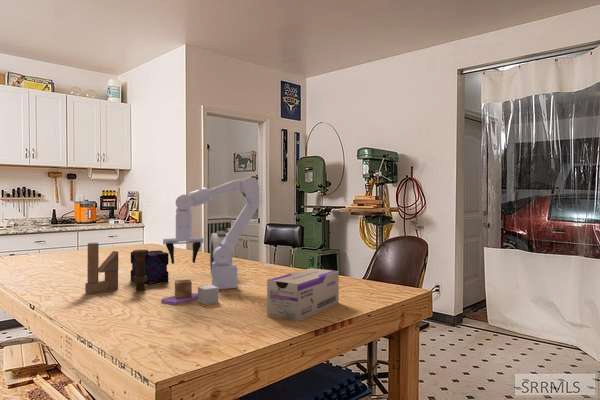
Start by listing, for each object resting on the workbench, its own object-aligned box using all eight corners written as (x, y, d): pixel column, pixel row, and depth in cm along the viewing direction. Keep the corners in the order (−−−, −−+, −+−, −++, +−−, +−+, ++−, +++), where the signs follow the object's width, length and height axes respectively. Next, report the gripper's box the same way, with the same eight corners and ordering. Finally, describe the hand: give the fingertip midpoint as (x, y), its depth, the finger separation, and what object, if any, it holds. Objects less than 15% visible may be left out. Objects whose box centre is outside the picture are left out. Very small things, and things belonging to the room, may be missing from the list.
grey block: (211, 299, 141) (211, 285, 141) (218, 302, 137) (218, 287, 137) (197, 301, 138) (197, 286, 138) (204, 305, 134) (204, 289, 134)
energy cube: (168, 282, 169) (168, 253, 169) (137, 286, 162) (137, 255, 162) (160, 278, 179) (160, 250, 179) (130, 281, 172) (130, 252, 172)
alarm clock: (209, 271, 194) (209, 229, 194) (225, 271, 196) (226, 229, 196) (214, 280, 174) (214, 233, 174) (232, 279, 176) (232, 232, 176)
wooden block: (118, 289, 156) (118, 241, 156) (90, 294, 147) (90, 243, 147) (113, 288, 158) (113, 240, 158) (84, 293, 150) (85, 243, 150)
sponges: (161, 304, 137) (161, 298, 137) (190, 296, 147) (190, 291, 147) (175, 307, 133) (175, 301, 133) (204, 299, 143) (204, 294, 143)
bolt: (142, 292, 150) (142, 251, 150) (129, 292, 151) (129, 251, 151) (150, 289, 156) (151, 249, 156) (138, 288, 157) (138, 249, 157)
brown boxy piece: (189, 294, 143) (189, 279, 143) (191, 297, 139) (191, 282, 139) (174, 295, 142) (174, 280, 142) (176, 298, 137) (176, 283, 137)
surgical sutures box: (310, 299, 142) (310, 268, 142) (338, 303, 137) (338, 271, 137) (267, 316, 121) (267, 280, 121) (298, 322, 116) (298, 284, 115)
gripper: (164, 227, 150) (164, 265, 150) (204, 227, 156) (204, 263, 156) (162, 226, 156) (162, 262, 156) (201, 225, 162) (201, 260, 162)
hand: (183, 262), depth 156 cm, fingers open, 7 cm apart
